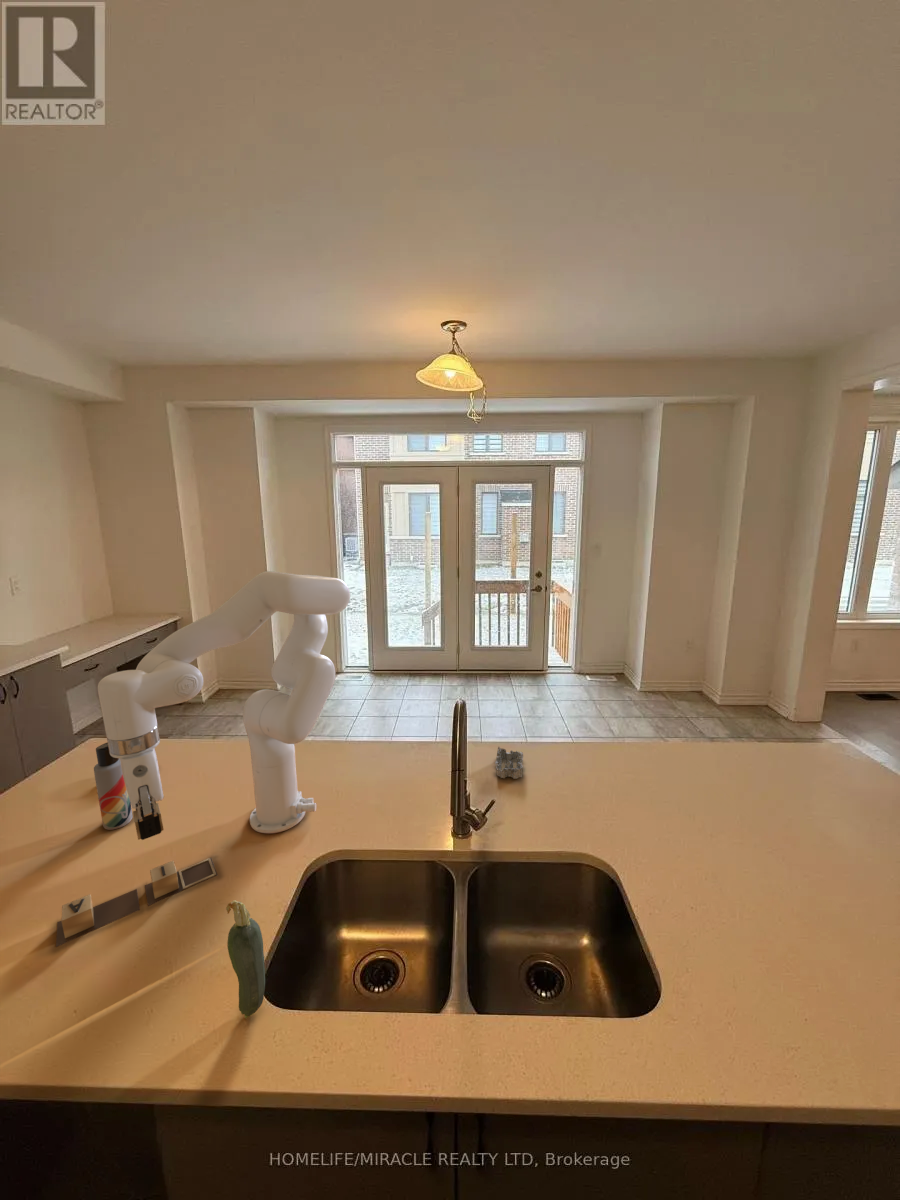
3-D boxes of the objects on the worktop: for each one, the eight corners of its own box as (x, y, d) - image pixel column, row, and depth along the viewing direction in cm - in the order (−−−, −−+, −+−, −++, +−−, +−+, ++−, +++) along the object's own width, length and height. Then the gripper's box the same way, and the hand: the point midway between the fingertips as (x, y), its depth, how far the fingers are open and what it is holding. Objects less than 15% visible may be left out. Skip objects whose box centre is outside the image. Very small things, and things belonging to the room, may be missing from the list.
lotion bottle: (117, 832, 105) (104, 751, 101) (97, 828, 106) (83, 749, 102) (138, 815, 111) (127, 739, 107) (118, 812, 112) (106, 736, 108)
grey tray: (211, 859, 97) (209, 842, 96) (217, 876, 92) (215, 858, 92) (144, 887, 90) (142, 868, 89) (148, 907, 85) (145, 888, 84)
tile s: (160, 818, 89) (158, 802, 88) (163, 830, 86) (160, 812, 85) (136, 828, 87) (132, 810, 86) (138, 840, 83) (134, 822, 83)
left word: (137, 890, 89) (134, 872, 88) (140, 911, 84) (137, 892, 84) (57, 924, 82) (53, 904, 81) (56, 948, 77) (52, 928, 76)
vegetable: (273, 1000, 69) (262, 886, 65) (263, 1033, 65) (250, 913, 61) (243, 1001, 69) (231, 887, 65) (231, 1034, 65) (216, 914, 61)
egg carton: (497, 757, 136) (497, 745, 135) (523, 760, 135) (523, 747, 134) (494, 778, 126) (494, 764, 125) (522, 781, 124) (522, 767, 124)
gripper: (164, 752, 78) (180, 845, 82) (153, 716, 91) (167, 798, 95) (110, 767, 74) (129, 865, 78) (106, 728, 87) (122, 813, 90)
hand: (149, 827), depth 86 cm, fingers closed on tile s, 4 cm apart
